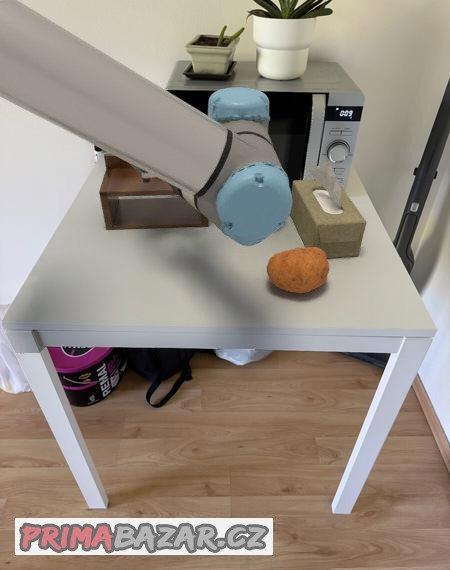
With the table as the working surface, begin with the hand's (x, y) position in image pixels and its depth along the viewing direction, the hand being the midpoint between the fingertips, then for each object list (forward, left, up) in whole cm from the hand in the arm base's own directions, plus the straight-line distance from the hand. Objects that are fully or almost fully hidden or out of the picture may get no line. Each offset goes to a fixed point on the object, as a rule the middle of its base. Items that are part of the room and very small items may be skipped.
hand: (136, 134), depth 84 cm
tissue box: (+37, -6, -20) cm, 43 cm away
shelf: (+2, +4, -20) cm, 21 cm away
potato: (+28, -23, -20) cm, 42 cm away
